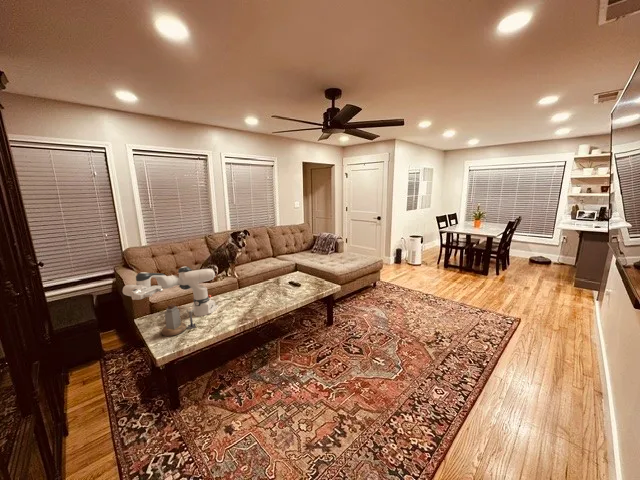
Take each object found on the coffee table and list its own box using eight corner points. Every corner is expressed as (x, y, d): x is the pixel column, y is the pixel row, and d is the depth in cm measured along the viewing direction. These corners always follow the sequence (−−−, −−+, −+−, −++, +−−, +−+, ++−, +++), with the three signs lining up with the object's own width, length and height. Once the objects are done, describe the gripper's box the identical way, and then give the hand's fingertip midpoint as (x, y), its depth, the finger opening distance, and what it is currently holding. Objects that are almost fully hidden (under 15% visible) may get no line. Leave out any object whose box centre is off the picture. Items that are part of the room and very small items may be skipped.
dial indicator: (188, 326, 205) (186, 306, 202) (195, 324, 208) (193, 304, 205) (188, 329, 201) (186, 308, 198) (195, 327, 203) (193, 307, 200)
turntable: (173, 324, 208) (172, 321, 207) (190, 326, 204) (190, 322, 204) (157, 334, 192) (156, 331, 192) (175, 336, 189) (175, 333, 188)
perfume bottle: (181, 325, 200) (178, 303, 197) (174, 329, 194) (171, 307, 190) (173, 324, 202) (171, 302, 198) (166, 328, 195) (163, 306, 192)
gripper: (153, 290, 210) (168, 291, 206) (130, 300, 190) (145, 302, 187) (152, 282, 208) (167, 284, 205) (129, 292, 189) (144, 293, 186)
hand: (156, 292), depth 196 cm, fingers open, 8 cm apart
